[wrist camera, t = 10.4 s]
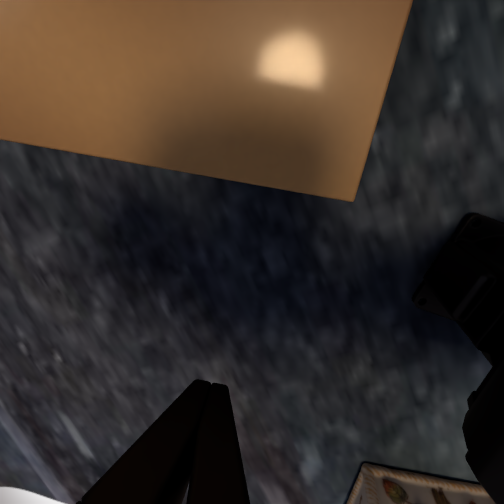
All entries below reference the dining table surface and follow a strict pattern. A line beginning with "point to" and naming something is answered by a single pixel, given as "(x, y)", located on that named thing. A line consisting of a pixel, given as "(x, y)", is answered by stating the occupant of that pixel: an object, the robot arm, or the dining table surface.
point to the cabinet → (204, 84)
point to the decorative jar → (412, 488)
